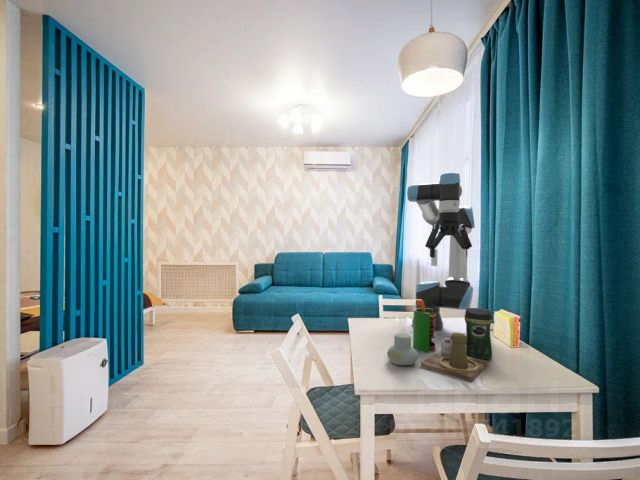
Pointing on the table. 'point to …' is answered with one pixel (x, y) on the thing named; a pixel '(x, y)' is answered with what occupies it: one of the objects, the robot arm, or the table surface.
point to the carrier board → (441, 365)
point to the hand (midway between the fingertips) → (448, 265)
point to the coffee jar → (478, 333)
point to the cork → (458, 351)
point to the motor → (423, 328)
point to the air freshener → (402, 350)
